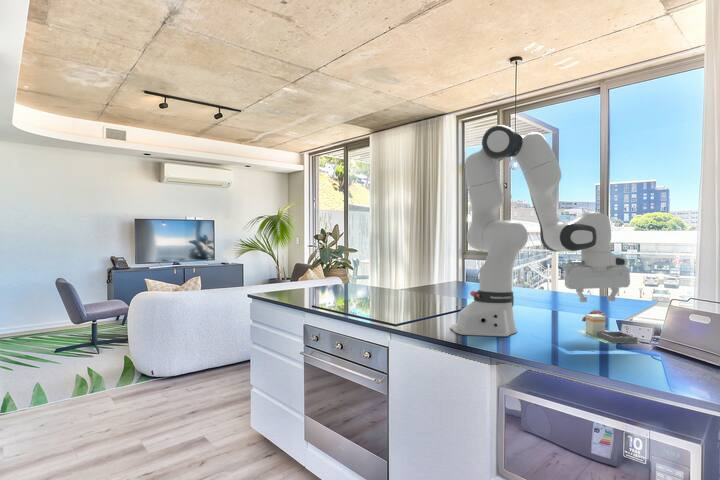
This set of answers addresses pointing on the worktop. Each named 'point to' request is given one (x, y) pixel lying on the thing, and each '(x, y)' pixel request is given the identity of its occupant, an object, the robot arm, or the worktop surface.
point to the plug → (595, 323)
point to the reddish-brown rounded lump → (595, 313)
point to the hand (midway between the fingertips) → (597, 301)
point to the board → (612, 337)
